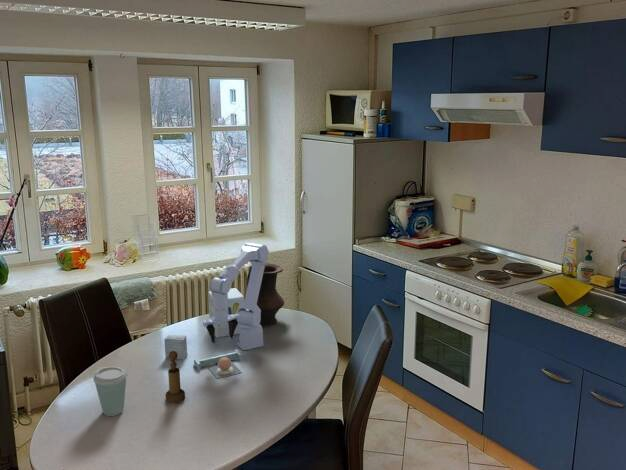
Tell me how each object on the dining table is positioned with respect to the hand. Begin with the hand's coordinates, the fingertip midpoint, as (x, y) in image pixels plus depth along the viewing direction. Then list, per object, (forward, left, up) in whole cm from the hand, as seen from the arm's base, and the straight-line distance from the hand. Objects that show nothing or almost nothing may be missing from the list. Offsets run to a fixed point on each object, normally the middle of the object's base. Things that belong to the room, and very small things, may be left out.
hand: (222, 339), depth 231 cm
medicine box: (+15, -13, -10) cm, 22 cm away
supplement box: (-13, -29, -10) cm, 33 cm away
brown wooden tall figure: (+25, +20, -10) cm, 34 cm away
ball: (+2, +8, -9) cm, 12 cm away
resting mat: (+2, +8, -9) cm, 12 cm away
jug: (-31, -29, -10) cm, 43 cm away
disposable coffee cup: (+46, +18, -10) cm, 50 cm away
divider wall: (+2, 0, -9) cm, 10 cm away
